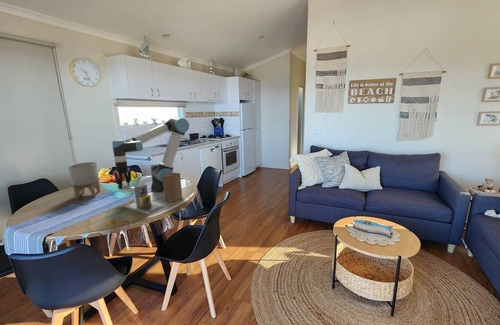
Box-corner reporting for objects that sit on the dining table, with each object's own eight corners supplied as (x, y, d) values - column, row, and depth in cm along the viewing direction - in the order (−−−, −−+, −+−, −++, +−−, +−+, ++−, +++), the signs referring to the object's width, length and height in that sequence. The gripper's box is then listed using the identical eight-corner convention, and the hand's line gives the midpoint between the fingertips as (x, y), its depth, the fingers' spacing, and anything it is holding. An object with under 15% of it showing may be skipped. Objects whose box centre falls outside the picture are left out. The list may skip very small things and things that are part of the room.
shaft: (144, 193, 173) (144, 187, 172) (138, 195, 169) (138, 189, 168) (124, 188, 185) (123, 182, 184) (118, 190, 181) (117, 184, 180)
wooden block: (176, 201, 181) (174, 176, 177) (164, 201, 183) (161, 175, 179) (182, 197, 191) (180, 172, 186) (171, 196, 193) (168, 172, 188)
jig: (164, 206, 173) (162, 185, 169) (147, 214, 161) (144, 192, 157) (142, 201, 184) (140, 181, 181) (125, 207, 173) (122, 186, 169)
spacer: (151, 204, 174) (150, 194, 173) (142, 208, 168) (140, 197, 166) (149, 203, 175) (148, 193, 174) (140, 207, 169) (139, 197, 167)
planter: (82, 200, 187) (75, 168, 182) (69, 196, 197) (63, 166, 191) (106, 193, 203) (101, 163, 197) (93, 189, 213) (88, 161, 207)
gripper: (127, 158, 184) (132, 187, 189) (106, 163, 171) (112, 194, 176) (134, 159, 180) (138, 189, 186) (113, 164, 167) (118, 196, 172)
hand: (125, 191), depth 181 cm, fingers closed on shaft, 3 cm apart
